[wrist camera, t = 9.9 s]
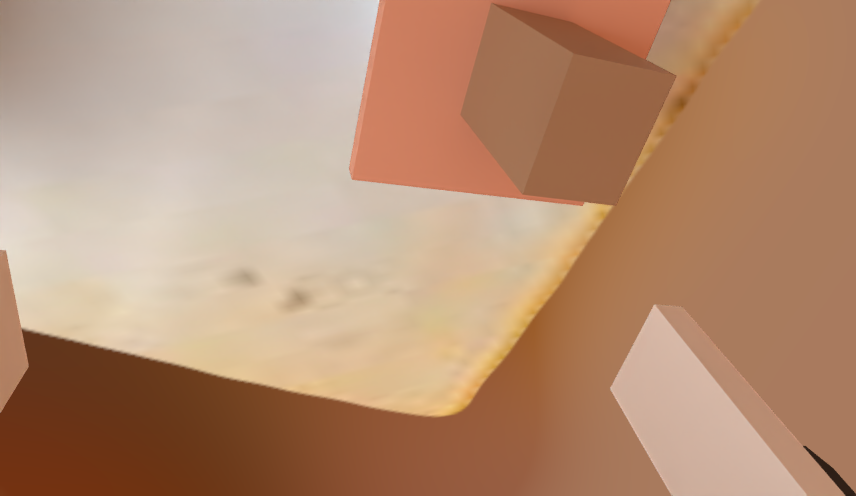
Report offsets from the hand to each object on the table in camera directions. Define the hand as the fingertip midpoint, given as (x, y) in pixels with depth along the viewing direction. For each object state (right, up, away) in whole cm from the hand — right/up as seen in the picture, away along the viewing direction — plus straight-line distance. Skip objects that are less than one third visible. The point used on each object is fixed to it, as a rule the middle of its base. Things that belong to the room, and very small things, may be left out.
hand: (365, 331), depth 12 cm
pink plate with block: (+5, +11, +15) cm, 19 cm away
